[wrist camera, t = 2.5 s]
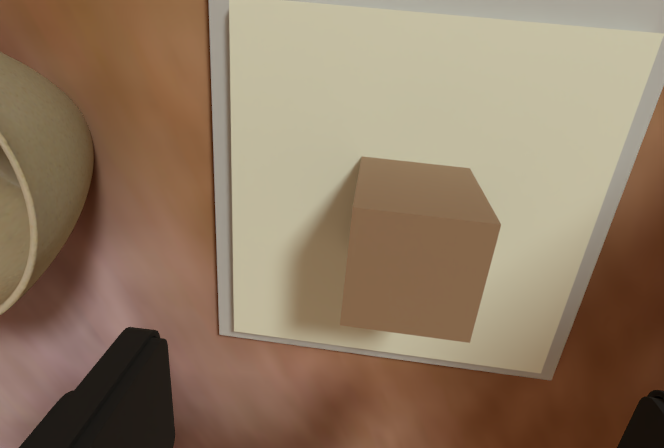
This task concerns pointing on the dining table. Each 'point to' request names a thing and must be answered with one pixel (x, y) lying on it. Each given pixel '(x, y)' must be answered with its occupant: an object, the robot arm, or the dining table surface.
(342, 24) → the lid
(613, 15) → the mat
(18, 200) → the flower pot
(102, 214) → the dining table surface
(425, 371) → the dining table surface
